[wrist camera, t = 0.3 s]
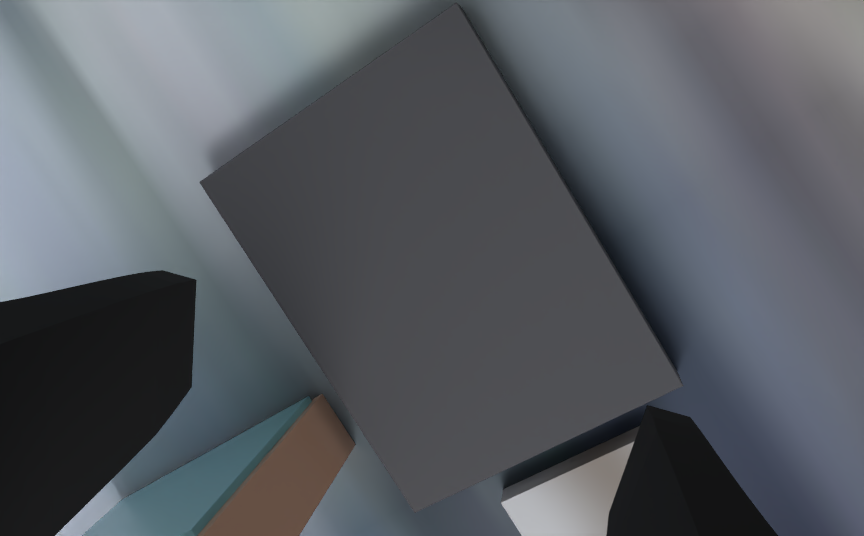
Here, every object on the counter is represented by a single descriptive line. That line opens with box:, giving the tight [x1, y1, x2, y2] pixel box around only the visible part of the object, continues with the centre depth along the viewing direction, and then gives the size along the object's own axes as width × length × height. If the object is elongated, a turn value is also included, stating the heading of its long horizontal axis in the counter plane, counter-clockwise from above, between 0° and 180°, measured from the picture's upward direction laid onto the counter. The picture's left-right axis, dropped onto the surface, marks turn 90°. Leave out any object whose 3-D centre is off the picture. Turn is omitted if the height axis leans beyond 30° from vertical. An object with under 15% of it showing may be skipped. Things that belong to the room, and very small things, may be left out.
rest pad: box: [200, 3, 683, 512], centre depth 21 cm, size 9×12×1 cm
